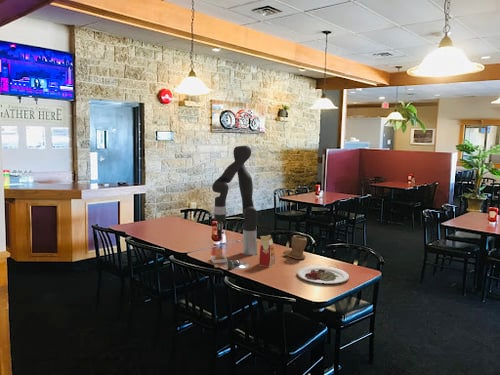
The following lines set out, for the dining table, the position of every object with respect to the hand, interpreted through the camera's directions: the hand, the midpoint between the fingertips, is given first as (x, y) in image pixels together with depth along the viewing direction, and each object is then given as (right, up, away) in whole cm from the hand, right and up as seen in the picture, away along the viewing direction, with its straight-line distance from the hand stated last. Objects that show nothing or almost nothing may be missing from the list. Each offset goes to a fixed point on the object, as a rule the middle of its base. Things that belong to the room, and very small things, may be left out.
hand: (219, 239), depth 263 cm
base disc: (+8, -16, -6) cm, 19 cm away
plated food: (+62, -20, -22) cm, 69 cm away
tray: (-1, -15, +4) cm, 15 cm away
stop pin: (-1, -14, +4) cm, 15 cm away
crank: (+9, -16, -9) cm, 21 cm away
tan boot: (+51, -14, +16) cm, 55 cm away
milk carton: (+30, -16, -2) cm, 34 cm away
